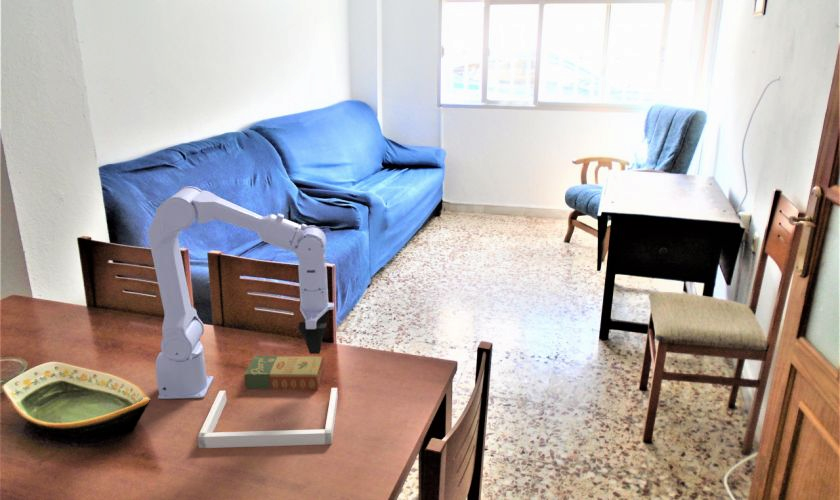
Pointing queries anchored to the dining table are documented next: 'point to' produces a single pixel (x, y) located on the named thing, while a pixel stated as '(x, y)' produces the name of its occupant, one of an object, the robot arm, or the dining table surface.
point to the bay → (264, 437)
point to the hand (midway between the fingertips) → (316, 344)
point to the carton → (284, 372)
